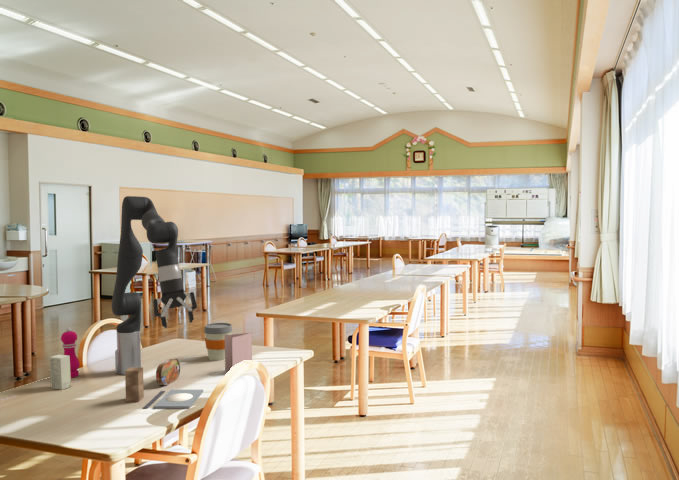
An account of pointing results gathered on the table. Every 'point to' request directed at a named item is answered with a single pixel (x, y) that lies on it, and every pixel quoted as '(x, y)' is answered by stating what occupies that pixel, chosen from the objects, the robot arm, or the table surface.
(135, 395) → the square wooden post
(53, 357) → the skincare box
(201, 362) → the table surface
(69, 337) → the pepper mill
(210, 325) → the reusable coffee cup
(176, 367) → the tin
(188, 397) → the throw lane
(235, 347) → the greeting card
